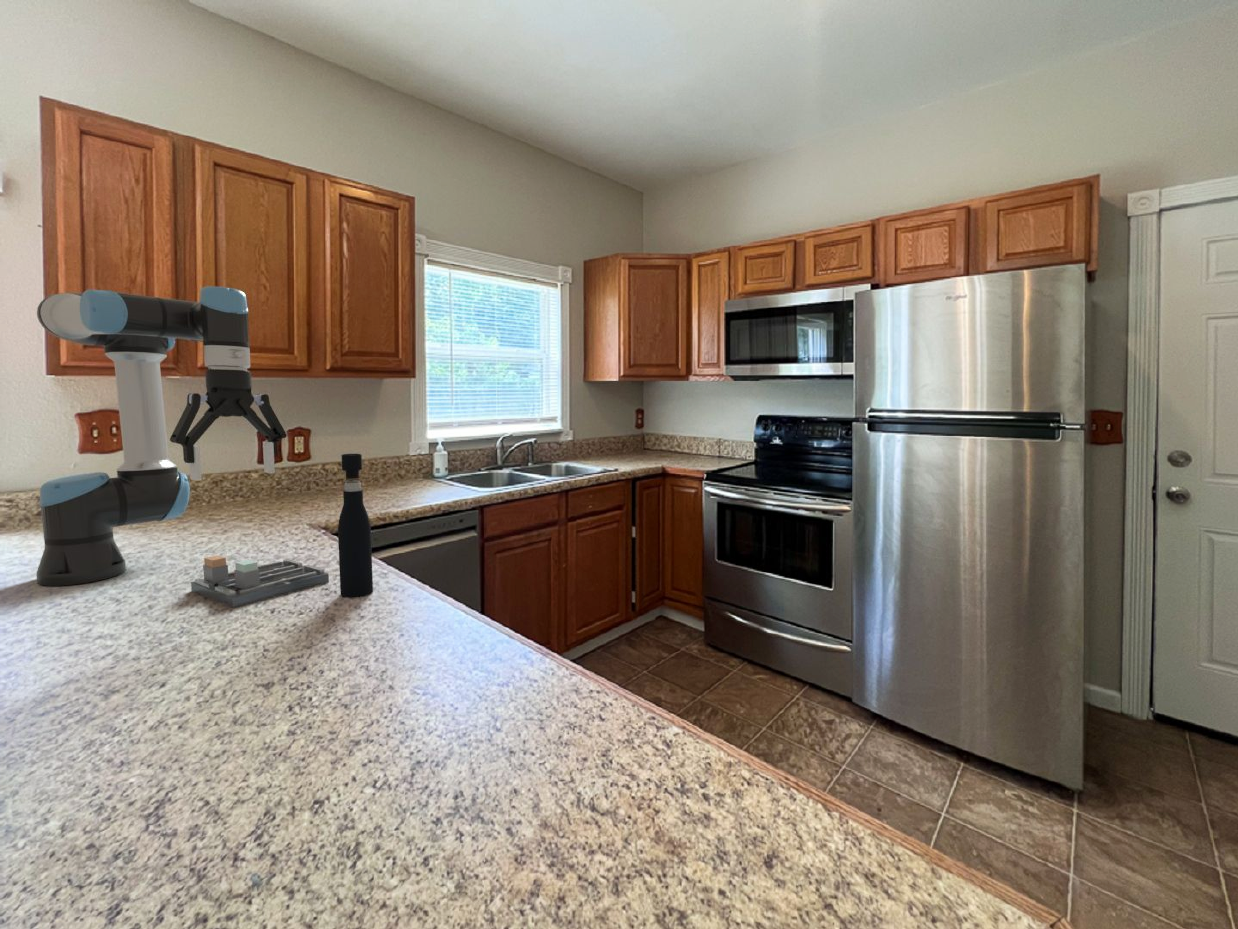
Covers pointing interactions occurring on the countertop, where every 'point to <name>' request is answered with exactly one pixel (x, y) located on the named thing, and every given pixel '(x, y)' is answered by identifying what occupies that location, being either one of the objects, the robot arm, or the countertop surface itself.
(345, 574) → the black water bottle
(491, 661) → the countertop surface
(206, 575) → the knob
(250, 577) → the knob
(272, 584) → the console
